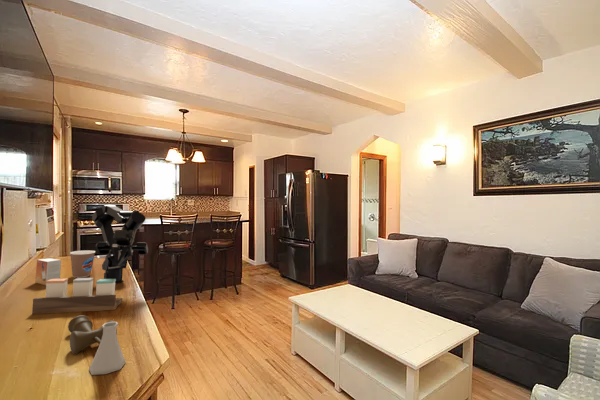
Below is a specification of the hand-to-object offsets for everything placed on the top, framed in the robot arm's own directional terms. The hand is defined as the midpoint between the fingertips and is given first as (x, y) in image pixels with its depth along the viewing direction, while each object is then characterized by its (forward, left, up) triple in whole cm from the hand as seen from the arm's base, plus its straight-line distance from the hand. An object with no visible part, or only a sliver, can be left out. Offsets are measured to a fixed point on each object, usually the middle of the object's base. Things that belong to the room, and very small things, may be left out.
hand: (117, 265), depth 116 cm
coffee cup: (-2, -45, -13) cm, 47 cm away
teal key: (+7, +10, -11) cm, 16 cm away
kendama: (+20, +35, -13) cm, 43 cm away
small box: (+12, -41, -13) cm, 45 cm away
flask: (+22, +52, -13) cm, 58 cm away
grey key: (+12, +3, -11) cm, 17 cm away
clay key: (+18, -2, -11) cm, 21 cm away
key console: (+13, +4, -13) cm, 19 cm away
